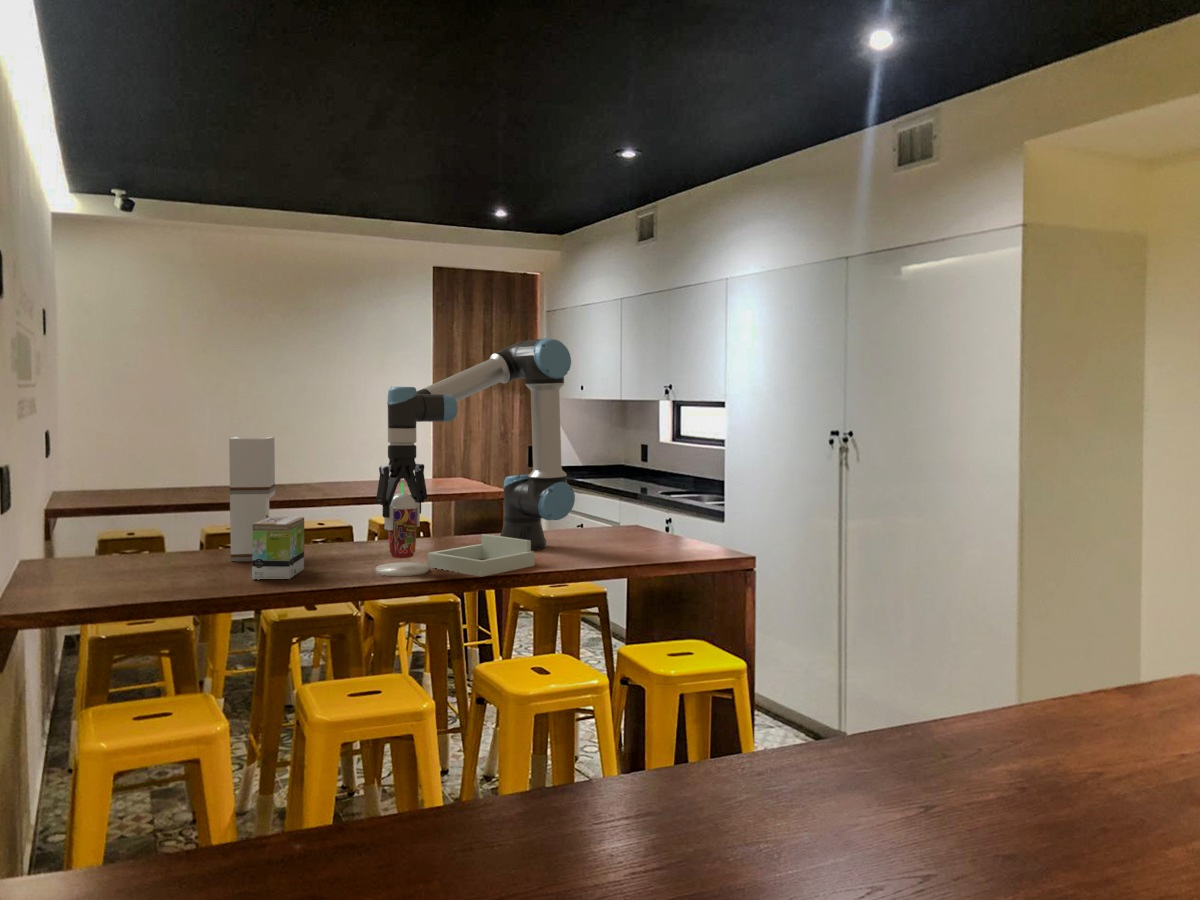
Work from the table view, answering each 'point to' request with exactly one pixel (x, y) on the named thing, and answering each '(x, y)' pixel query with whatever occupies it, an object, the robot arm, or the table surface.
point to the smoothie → (403, 525)
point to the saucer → (402, 569)
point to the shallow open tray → (485, 556)
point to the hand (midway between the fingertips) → (402, 527)
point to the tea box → (277, 547)
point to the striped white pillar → (249, 490)
